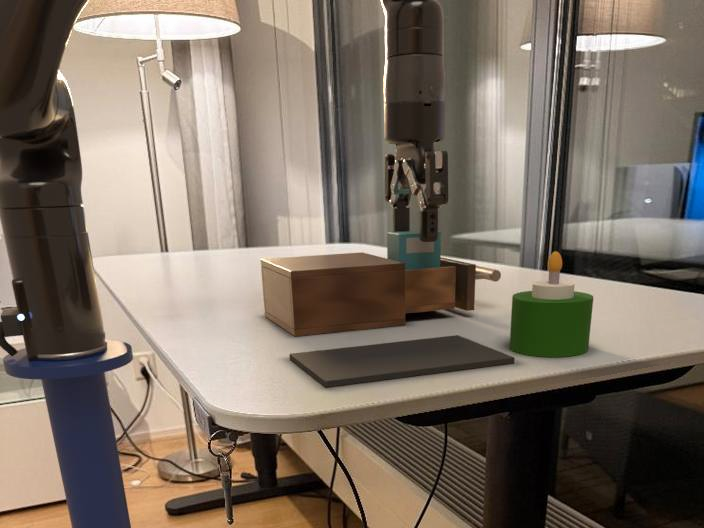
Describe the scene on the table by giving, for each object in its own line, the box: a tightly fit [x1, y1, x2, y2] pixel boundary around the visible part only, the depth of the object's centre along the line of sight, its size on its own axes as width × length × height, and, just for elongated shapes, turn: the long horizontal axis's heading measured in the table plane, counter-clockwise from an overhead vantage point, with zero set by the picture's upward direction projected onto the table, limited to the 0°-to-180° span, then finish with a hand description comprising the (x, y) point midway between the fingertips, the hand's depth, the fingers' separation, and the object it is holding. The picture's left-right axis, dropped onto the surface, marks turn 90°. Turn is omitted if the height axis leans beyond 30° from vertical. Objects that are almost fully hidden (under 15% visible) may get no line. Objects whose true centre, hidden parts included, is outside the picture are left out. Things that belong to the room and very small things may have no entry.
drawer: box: [405, 256, 502, 314], centre depth 98 cm, size 19×13×6 cm
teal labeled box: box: [386, 230, 442, 270], centre depth 97 cm, size 6×4×8 cm
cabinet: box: [260, 252, 406, 337], centre depth 94 cm, size 15×15×8 cm
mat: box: [289, 334, 515, 388], centre depth 74 cm, size 20×12×1 cm, turn 111°
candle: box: [509, 250, 594, 358], centre depth 76 cm, size 8×8×10 cm
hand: (414, 239), depth 95 cm, fingers open, 8 cm apart
